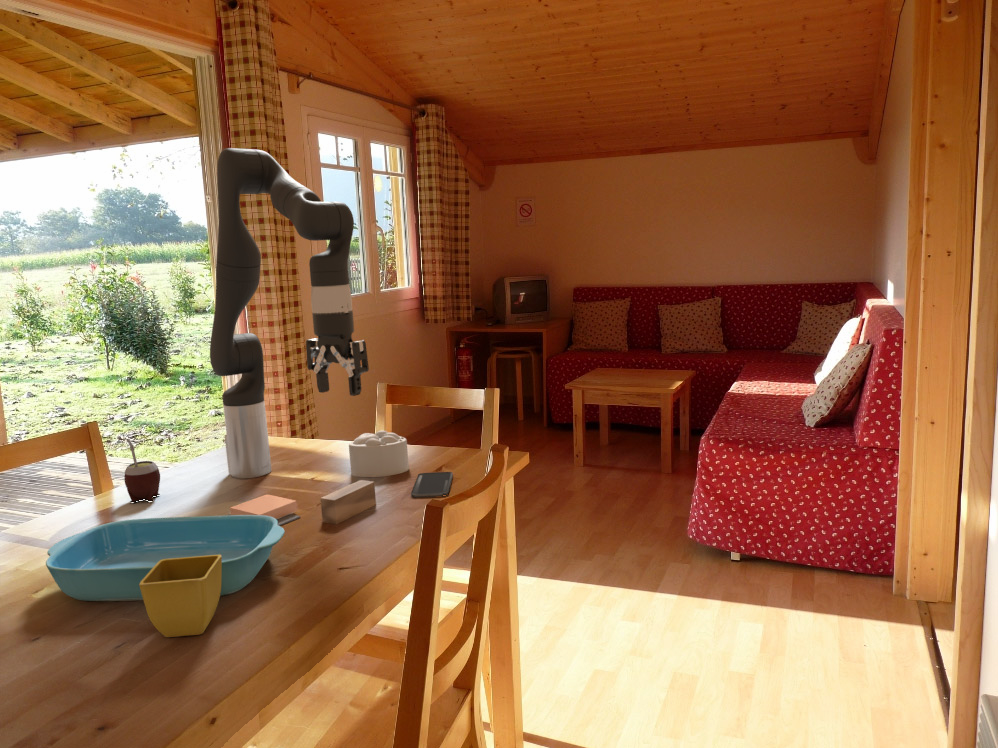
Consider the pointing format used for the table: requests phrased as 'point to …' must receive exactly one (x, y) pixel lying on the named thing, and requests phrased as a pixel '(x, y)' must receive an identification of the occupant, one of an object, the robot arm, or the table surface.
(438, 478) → the phone
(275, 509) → the tile
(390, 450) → the lumpy-topped squat cylinder
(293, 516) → the mat
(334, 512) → the bar
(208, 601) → the flower pot
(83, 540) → the casserole dish
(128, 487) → the mate gourd
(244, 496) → the table surface
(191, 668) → the table surface
